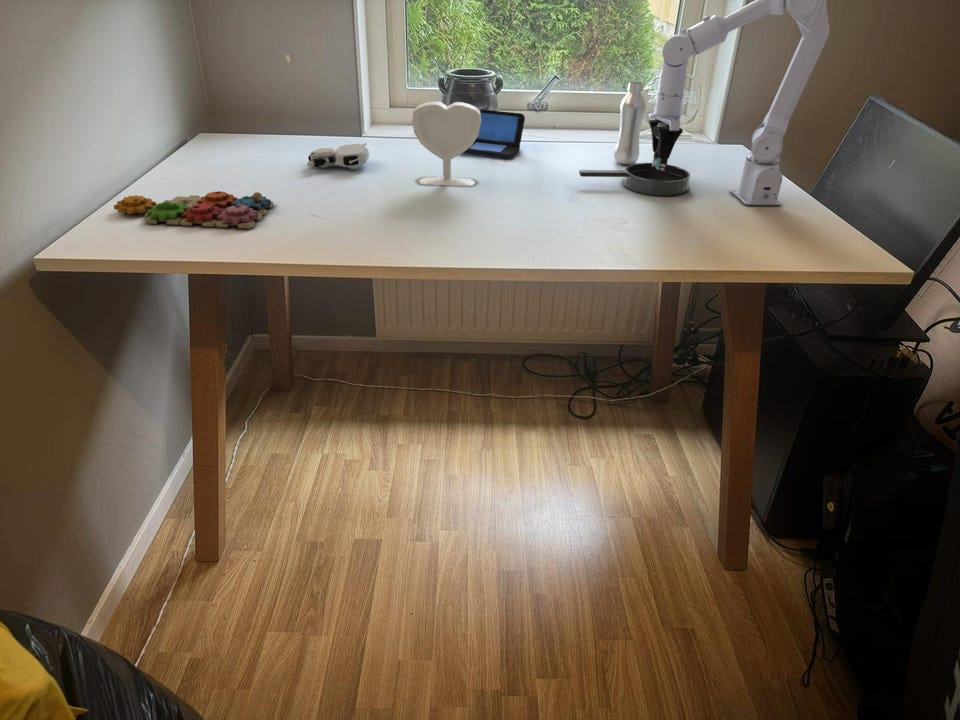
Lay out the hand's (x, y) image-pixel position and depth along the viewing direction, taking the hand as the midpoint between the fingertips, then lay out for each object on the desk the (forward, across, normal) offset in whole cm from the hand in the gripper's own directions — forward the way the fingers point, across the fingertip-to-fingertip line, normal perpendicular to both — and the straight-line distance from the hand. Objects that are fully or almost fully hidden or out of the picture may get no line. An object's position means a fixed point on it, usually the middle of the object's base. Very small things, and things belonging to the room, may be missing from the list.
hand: (660, 155), depth 162 cm
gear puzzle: (+7, +20, -103) cm, 105 cm away
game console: (+8, -30, -38) cm, 49 cm away
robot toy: (+7, -14, -77) cm, 79 cm away
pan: (+8, 0, 0) cm, 8 cm away
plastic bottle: (+8, -19, -3) cm, 21 cm away
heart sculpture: (+8, -2, -50) cm, 51 cm away
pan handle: (+5, 0, -13) cm, 14 cm away
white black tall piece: (+3, 0, 0) cm, 3 cm away
